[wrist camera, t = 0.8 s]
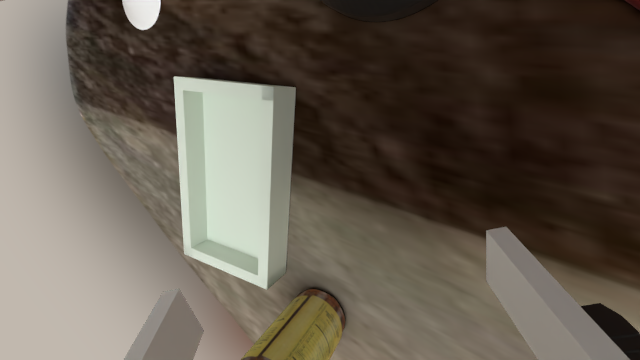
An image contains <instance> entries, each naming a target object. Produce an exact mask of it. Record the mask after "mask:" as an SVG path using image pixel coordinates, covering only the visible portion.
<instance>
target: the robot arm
mask: <svg viewBox="0 0 640 360" xmlns="http://www.w3.org/2000/svg"><path fill="white" fill-rule="evenodd" d="M320 1H321V2H323V3H324V4H326V5H327V6H329V7H330V8H332V9H334V10H336V11H338V12H339V13H341V14H343V15H345V16H348V17H350V18H353V19H357V20H361V21H368V22H384V21H391V20H396V19H400V18H403V17H406V16H409V15H411V14H414V13H416V12H418V11H420V10H422V9H424V8H426V7H428V6H429V5H431V4H433V3H434V2H436V1H437V0H320ZM486 281H487V283H488V284H489V286H490V287H491V289H492V290H493V292H494V294H495V295H496V297H497V298H498V300H499V301H500V303H501V304H502V306H503V307H504V309H505V310H506V312H507V313H508V315H509V316H510V318H511V319H512V321H513V322H514V324H515V326H516V327H517V329H518V330H519V332H520V333H521V335H522V336H523V338H524V339H525V341H526V342H527V344H528V345H529V347H530V348H531V350H532V351H533V353H534V354H535V356H536V358H537V359H538V360H640V334H639V332H638V331H637V330H636V329H635V328H634V327H633V326H632V325H631V324H630V323H629V322H628V321H627V320H625V319H624V318H623V317H622V316H621V315H619V314H618V313H616V312H614V311H612V310H611V309H609V308H607V307H606V306H604V305H602V304H601V303H598V304H592V305H586V306H580V305H579V304H578V303H577V302H576V301H575V300H574V299H573V298H572V297H571V296H570V295H569V294H568V293H567V291H566V290H565V289H564V288H563V287H562V286H561V285H560V284H559V283H558V282H557V281H556V280H555V279H554V278H553V276H552V275H551V274H550V273H549V272H548V271H547V270H546V269H545V268H544V267H543V266H542V265H541V264H540V262H539V261H538V260H537V259H536V258H535V257H534V256H533V255H532V254H531V253H530V252H529V251H528V250H527V249H526V247H525V246H524V245H523V244H522V243H521V242H520V241H519V240H518V239H517V238H516V237H515V236H514V235H513V233H512V232H511V231H510V230H509V229H508V228H507V227H502V228H496V229H491V230H486ZM203 332H204V330H203V328H202V327H201V325H200V323H199V321H198V320H197V318H196V316H195V315H194V313H193V311H192V310H191V308H190V306H189V304H188V303H187V301H186V299H185V298H184V296H183V294H182V293H181V291H180V289H175V290H170V291H165V292H163V293H162V295H161V296H160V298H159V300H158V301H157V303H156V305H155V307H154V308H153V310H152V312H151V313H150V315H149V317H148V319H147V320H146V322H145V324H144V326H143V327H142V329H141V331H140V332H139V334H138V336H137V338H136V339H135V341H134V343H133V344H132V346H131V348H130V350H129V352H128V353H127V355H126V357H125V358H124V360H193V358H194V356H195V353H196V350H197V347H198V345H199V342H200V339H201V337H202V334H203Z"/></svg>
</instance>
